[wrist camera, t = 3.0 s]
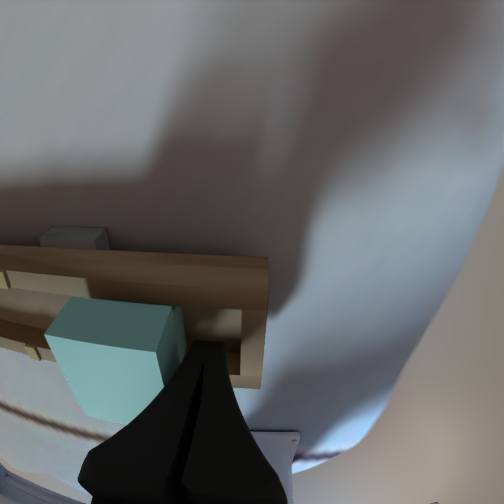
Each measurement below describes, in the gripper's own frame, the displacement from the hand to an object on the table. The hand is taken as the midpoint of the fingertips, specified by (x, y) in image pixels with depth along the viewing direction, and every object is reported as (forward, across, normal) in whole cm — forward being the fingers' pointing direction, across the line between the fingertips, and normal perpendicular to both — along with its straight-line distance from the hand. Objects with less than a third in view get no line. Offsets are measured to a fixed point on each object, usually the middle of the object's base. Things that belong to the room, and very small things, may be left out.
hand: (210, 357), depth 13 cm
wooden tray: (+5, +8, 0) cm, 9 cm away
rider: (+2, +4, 0) cm, 4 cm away
